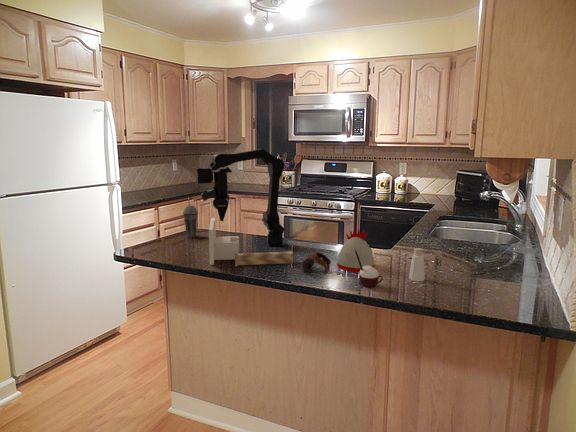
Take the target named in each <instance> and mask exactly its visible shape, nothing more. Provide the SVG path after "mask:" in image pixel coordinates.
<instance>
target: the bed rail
mask: <svg viewBox="0 0 576 432" xmlns="http://www.w3.org/2000/svg"><path fill="white" fill-rule="evenodd" d="M274 264H275V265H278V264H294V252H293V251H291V250H289V251H270V252H269V251H267V252H266V251H265V252H264V251H263V252H262V251H261V252H239V253H237V250H235V259H234V267H236V268H237V267H238V266H247V265H248V266H250V265H253V266H254V265H255V266H256V265H274Z"/></svg>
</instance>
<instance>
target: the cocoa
mask: <svg viewBox="0 0 576 432" xmlns="http://www.w3.org/2000/svg"><path fill="white" fill-rule="evenodd" d="M355 253H356V256H357V259H358V262H359V265H360V268H361V270H360V272H359V282H360V284H361V285H362V286H363V287H365V288H374V287H376V285H378V284H380V283H382V281H383V275H379V274H380V272H379V271H378V270H377V268H375V267H374V268H373V267H371V266H363V267H362V265H361V262H360V259H359V256H358V254H357V251H356V250H355ZM379 278H380V279H379Z"/></svg>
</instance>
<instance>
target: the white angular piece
mask: <svg viewBox="0 0 576 432" xmlns="http://www.w3.org/2000/svg"><path fill="white" fill-rule="evenodd" d="M239 239H240V237H239V235H238V236H237V235H235V236H231V235H229V236H216V217H211V220H210V223H209V227H208V245H209V249H208V250H209V265H210V266H213V265H215V261H224V260H225V261H226V260H235V250H237V253H240V240H239Z"/></svg>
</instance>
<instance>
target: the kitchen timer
mask: <svg viewBox="0 0 576 432" xmlns="http://www.w3.org/2000/svg"><path fill="white" fill-rule="evenodd" d="M349 234H350V235H349ZM349 234H348V233H345V235H346V238H347V240H346V241H345V242H344V243H343V245H342V247H341V248H340V250H339V253H338V257H337V261H336V263H337V264H336V266H337V268H338V269H339V270H341V271H346V272H350V273H351V272H352V273H360V270H361V268H360V265H359V262H358V259H357V256H356V253H355V250H356V251H357V254H358V256H359V259H360V262H361V265H362V267H363V266H371V267H373V268H375V260H374V255H373V252H372V248H371V247H370V245H369V244H368V242H367V241H366V238H367V236H368V235H369V232H367V233H365V229H362V231H361V232H360V228H358V229H357V231H356V228H353V232H352V230H349Z"/></svg>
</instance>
